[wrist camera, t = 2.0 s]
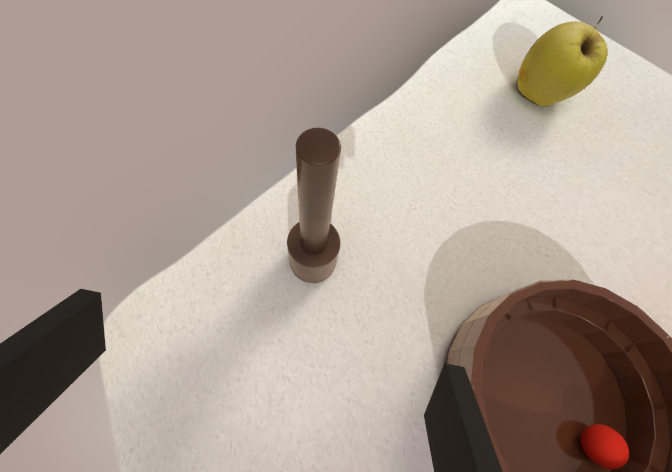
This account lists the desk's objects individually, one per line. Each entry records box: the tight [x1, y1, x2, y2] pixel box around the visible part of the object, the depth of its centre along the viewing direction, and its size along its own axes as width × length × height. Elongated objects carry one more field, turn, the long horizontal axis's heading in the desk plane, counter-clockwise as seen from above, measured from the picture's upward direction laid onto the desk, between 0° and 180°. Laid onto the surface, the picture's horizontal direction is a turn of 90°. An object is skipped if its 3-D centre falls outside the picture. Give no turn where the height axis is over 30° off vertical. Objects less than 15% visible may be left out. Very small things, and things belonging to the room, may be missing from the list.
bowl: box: [447, 280, 672, 472], centre depth 28 cm, size 18×18×6 cm
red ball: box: [581, 424, 629, 469], centre depth 27 cm, size 3×3×3 cm
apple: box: [518, 17, 608, 106], centre depth 40 cm, size 8×8×10 cm
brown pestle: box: [287, 128, 341, 283], centre depth 25 cm, size 4×4×18 cm
